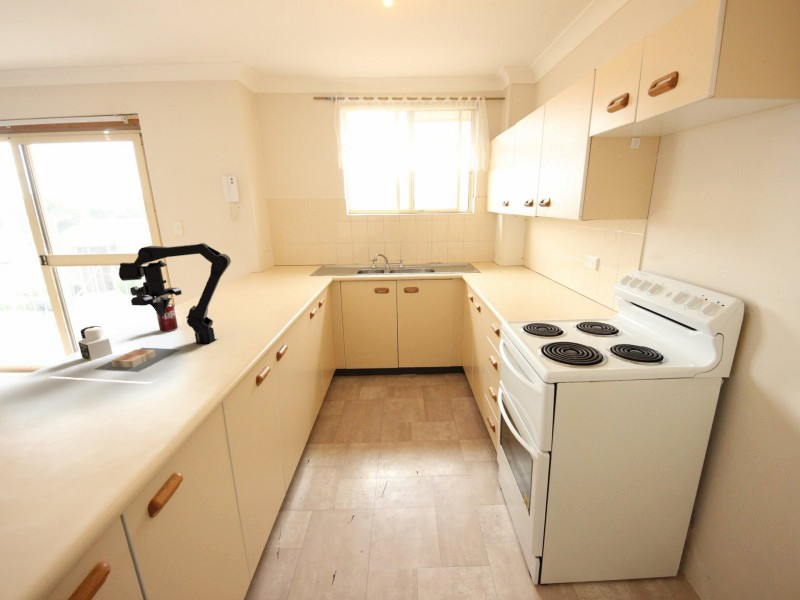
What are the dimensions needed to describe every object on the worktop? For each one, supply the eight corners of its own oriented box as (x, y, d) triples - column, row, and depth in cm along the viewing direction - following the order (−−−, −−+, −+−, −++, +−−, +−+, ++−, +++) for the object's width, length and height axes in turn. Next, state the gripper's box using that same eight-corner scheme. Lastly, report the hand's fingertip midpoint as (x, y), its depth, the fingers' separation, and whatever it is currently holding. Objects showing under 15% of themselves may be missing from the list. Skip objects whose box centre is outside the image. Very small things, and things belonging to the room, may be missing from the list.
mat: (182, 350, 141) (181, 349, 141) (138, 373, 122) (138, 371, 121) (142, 349, 144) (142, 347, 143) (94, 370, 124) (93, 369, 124)
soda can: (181, 327, 170) (177, 303, 167) (170, 332, 163) (165, 307, 160) (167, 327, 171) (163, 303, 168) (156, 332, 164) (151, 307, 161)
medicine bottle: (82, 358, 135) (74, 329, 132) (104, 352, 141) (97, 323, 138) (91, 362, 132) (83, 331, 129) (113, 355, 138) (106, 326, 135)
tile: (154, 350, 134) (131, 361, 124) (155, 356, 134) (132, 367, 125) (136, 349, 135) (111, 360, 125) (137, 355, 136) (113, 366, 126)
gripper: (155, 274, 148) (162, 310, 152) (114, 283, 130) (123, 323, 134) (179, 274, 146) (185, 310, 150) (140, 283, 128) (149, 324, 132)
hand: (161, 316), depth 142 cm, fingers closed
